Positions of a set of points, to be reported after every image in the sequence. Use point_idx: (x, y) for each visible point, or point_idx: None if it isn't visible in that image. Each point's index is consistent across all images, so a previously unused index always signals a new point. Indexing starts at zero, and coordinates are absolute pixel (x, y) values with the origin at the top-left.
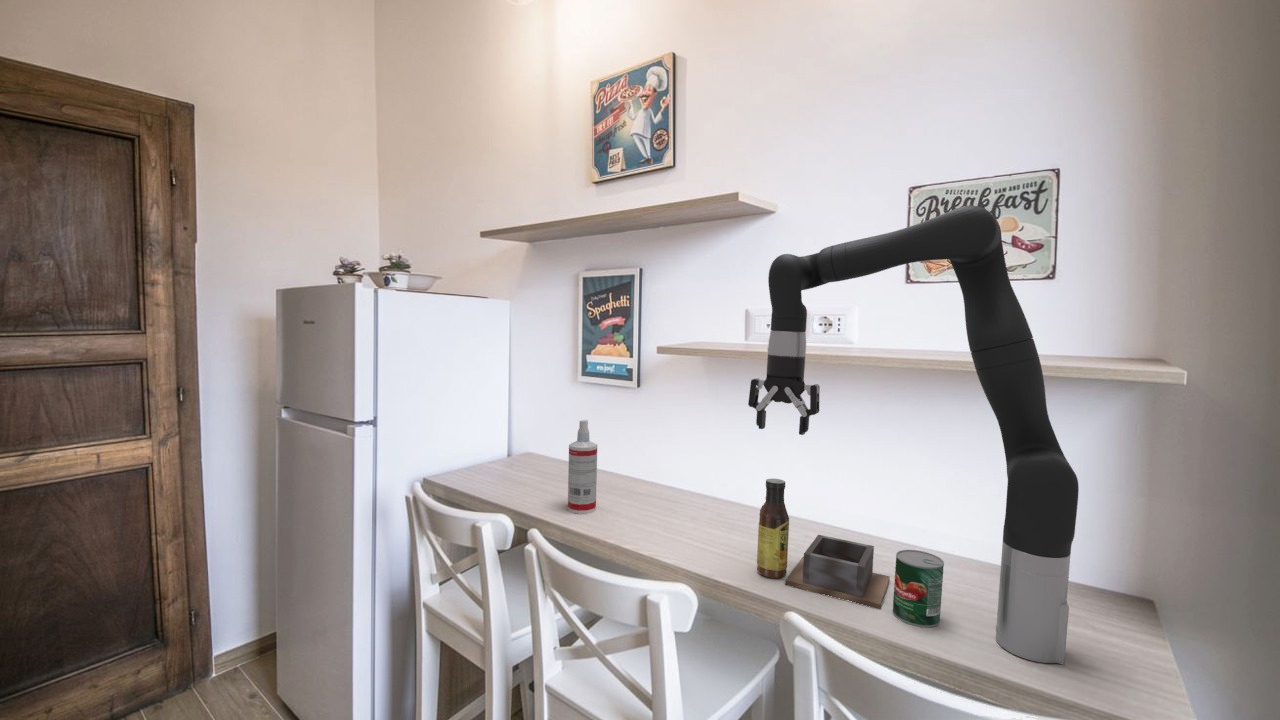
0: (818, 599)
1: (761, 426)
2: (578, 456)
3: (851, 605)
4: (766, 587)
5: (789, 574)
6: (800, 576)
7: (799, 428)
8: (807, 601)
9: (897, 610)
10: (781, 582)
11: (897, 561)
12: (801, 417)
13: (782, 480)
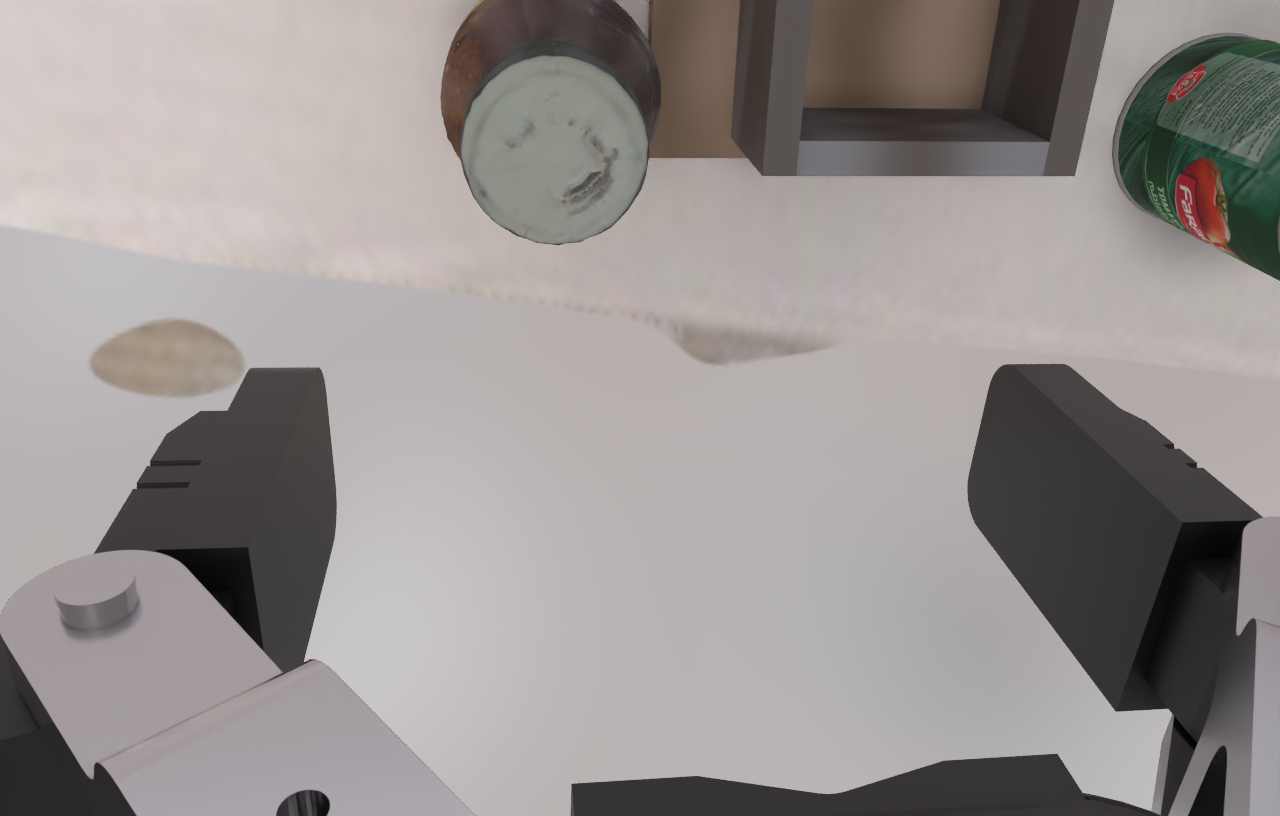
0: (812, 209)
1: (328, 554)
2: None
3: (948, 183)
4: None
5: None
6: (707, 68)
7: (1011, 569)
8: (771, 254)
9: (1140, 197)
10: None
11: (1268, 242)
12: (1139, 705)
13: (611, 100)
